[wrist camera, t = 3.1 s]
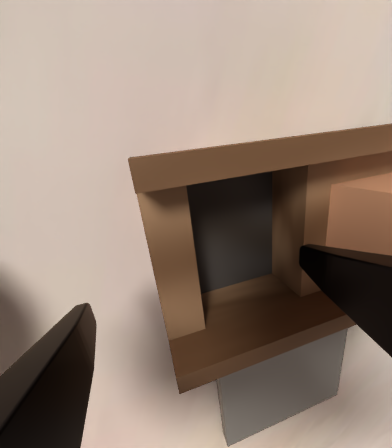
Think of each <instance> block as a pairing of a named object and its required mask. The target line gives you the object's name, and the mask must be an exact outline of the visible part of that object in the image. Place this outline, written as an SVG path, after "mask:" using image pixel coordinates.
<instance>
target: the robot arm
mask: <svg viewBox="0 0 392 448" xmlns="http://www.w3.org/2000/svg"><path fill="white" fill-rule="evenodd" d="M299 265H300V267H301V268H302V269H303V271H304V272H305V273H306V274H307V275H308V276H309V277H310V278H311V279H312V281H313V282H314V283H315V284H316V285H317V286H318V287H319V288H320V290H321V291H322V292H323V293H324V294H325V295H326V296H327V297H328V298H329V299H330V300H331V301H333V302H334V303H335V304H336V305H337V306H338V307H339V308H340V309H341V310H342V311H343V312H344V313H345V314H346V315H347V316H348V317H350V318H351V319H352V320H353V321H354V322H355V323H356V324H357V325H358V326H359V327H360V328H361V329H362V330H363V331H364V332H365V333H367V334H368V335H369V336H370V337H371V338H372V339H373V340H374V341H375V342H376V343H377V344H378V345H379V346H380V347H381V348H382V349H384V350H385V351H386V352H387V353H388V354H389V355H390V356H391V357H392V256H391V255H384V254H377V253H370V252H363V251H356V250H349V249H342V248H335V247H328V246H321V245H314V244H306V245H302V246H301V247H300V248H299ZM95 343H96V320H95V317H94V314H93V312H92V309H91V306H90V304H89V303H84V304H80V305H77V306H75V307H74V308H73V309H72V310H71V311H70V312H69V313H68V314H66V315H65V316H64V317H63V318H62V319H61V320H60V321H59V322H58V323H57V324H56V325H55V326H54V327H53V328H51V329H50V330H49V331H48V332H47V333H46V334H45V335H44V336H43V337H42V338H41V339H40V340H39V341H38V342H36V343H35V344H34V345H33V346H32V347H31V348H30V349H29V350H28V351H27V352H26V353H25V354H24V355H23V356H21V357H20V358H19V359H18V360H17V361H16V362H15V363H14V364H13V365H12V366H11V367H10V368H9V369H8V370H6V371H5V372H4V373H3V374H2V375H1V376H0V448H80V447H81V442H82V436H83V430H84V424H85V418H86V413H87V407H88V401H89V395H90V389H91V384H92V378H93V371H94V360H95Z"/></svg>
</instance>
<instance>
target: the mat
mask: <svg viewBox="0 0 392 448" xmlns="http://www.w3.org/2000/svg"><path fill="white" fill-rule="evenodd" d="M347 329H348V328H346V329H344V330H341V331H339V332H336V333H334V334H331V335H328V336H326V337H323V338H321V339H318V340H316V341H313V342H311V343H308V344H306V345H303V346H301V347H298V348H295V349H293V350H290V351H288V352H285V353H283V354H280V355H278V356H275V357H273V358H270V359H267V360H265V361H262V362H260V363H257V364H255V365H252V366H250V367H247V368H245V369H242V370H239V371H237V372H234V373H232V374H229V375H227V376H224V377H222V378H219V379H217V386H218V394H219V402H220V410H221V418H222V426H223V433H224V437H225V440H226V443H227V446H230V445H232V444H235V443H237V442H239V441H241V440H243V439H245V438H247V437H249V436H251V435H254V434H256V433H258V432H260V431H262V430H264V429H266V428H268V427H270V426H272V425H275V424H277V423H279V422H281V421H283V420H285V419H287V418H289V417H291V416H293V415H296V414H298V413H300V412H302V411H304V410H306V409H308V408H310V407H312V406H315V405H317V404H319V403H321V402H323V401H325V400H327V399H329V398H331V397H333V396H336V395H337V391H338V385H339V379H340V373H341V366H342V360H343V354H344V348H345V341H346V335H347Z"/></svg>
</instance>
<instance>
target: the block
mask: <svg viewBox="0 0 392 448" xmlns="http://www.w3.org/2000/svg"><path fill="white" fill-rule="evenodd" d="M326 246H328V247H335V248H342V249H349V250H356V251H363V252H370V253H377V254H384V255H391V256H392V173H387V174H382V175H377V176H371V177H366V178H361V179H356V180H351V181H346V182H341V183H336V184H331V195H330V205H329V215H328V226H327V236H326Z"/></svg>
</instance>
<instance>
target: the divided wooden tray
mask: <svg viewBox="0 0 392 448" xmlns="http://www.w3.org/2000/svg"><path fill="white" fill-rule="evenodd" d="M128 162H129V166H130V171H131V175H132V180H133V184H134V189H135V193H136V194H137V198H138V202H139V207H140V211H141V216H142V221H143V225H144V230H145V234H146V239H147V244H148V248H149V253H150V257H151V262H152V266H153V271H154V276H155V280H156V285H157V289H158V294H159V299H160V303H161V308H162V312H163V317H164V321H165V326H166V331H167V335H168V340H169V345H170V350H171V355H172V360H173V365H174V370H175V375H176V380H177V384H178V389H179V394H181V393H184V392H186V391H189V390H191V389H194V388H196V387H199V386H201V385H204V384H206V383H209V382H212V381H214V380H217V379H219V378H222V377H224V376H227V375H229V374H232V373H234V372H237V371H239V370H242V369H245V368H247V367H250V366H252V365H255V364H257V363H260V362H262V361H265V360H267V359H270V358H273V357H275V356H278V355H280V354H283V353H285V352H288V351H290V350H293V349H295V348H298V347H301V346H303V345H306V344H308V343H311V342H313V341H316V340H318V339H321V338H323V337H326V336H328V335H331V334H334V333H336V332H339V331H341V330H344V329H346V328H349V327H351V326H354V325H356V323H355V322H354V321H353V320H352V319H351V318H350V317H348V316H347V315H346V314H345V313H344V312H343V311H342V310H341V309H340V308H339V307H338V306H337V305H336V304H335V303H334V302H333V301H331V300H330V299H329V298H328V297H327V296H326V295H325V294H324V293H323V292H322V291H321V290H320V288H319V287H318V286H317V285H316V284H315V283H314V282H313V281H312V279H311V278H310V277H309V276H308V275H307V274H306V273H305V272H304V271H303V269H302V268H301V267H300V265H299V248H300V247H301V246H302V245H306V244H314V245H321V246H326V236H327V226H328V215H329V205H330V195H331V184H336V183H341V182H346V181H351V180H356V179H361V178H366V177H371V176H377V175H382V174H387V173H392V124H385V125H377V126H370V127H362V128H354V129H346V130H339V131H331V132H323V133H316V134H308V135H300V136H292V137H285V138H277V139H269V140H261V141H254V142H246V143H238V144H231V145H223V146H215V147H207V148H200V149H192V150H184V151H177V152H169V153H161V154H153V155H146V156H138V157H130V158H129V159H128Z"/></svg>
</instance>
